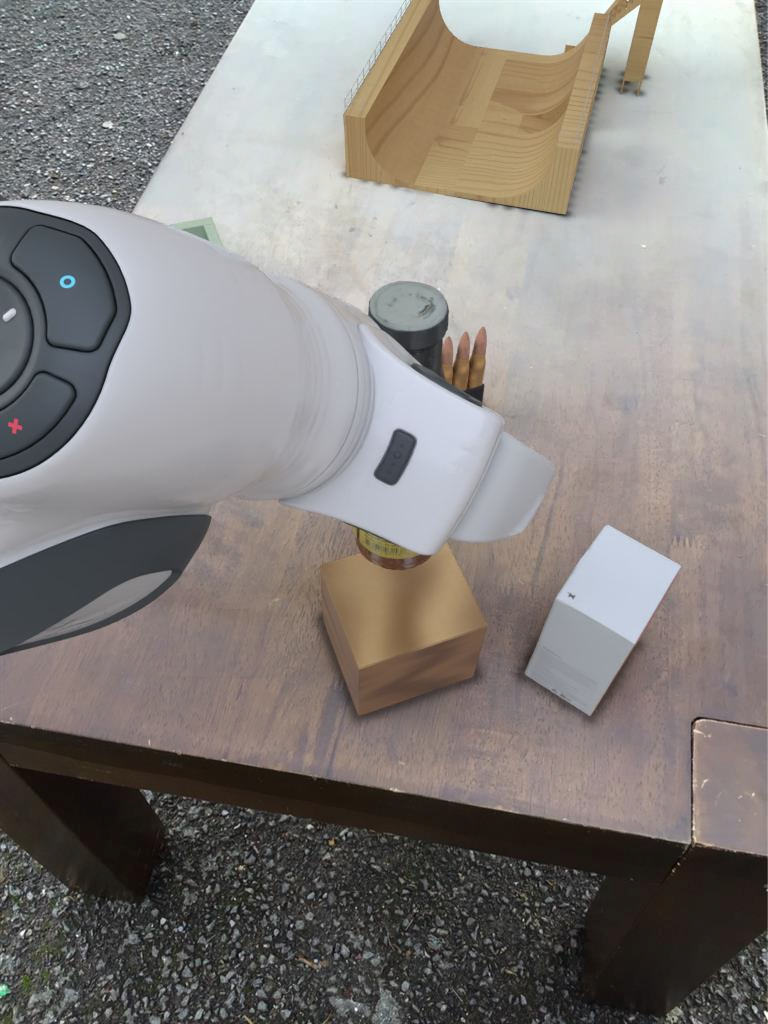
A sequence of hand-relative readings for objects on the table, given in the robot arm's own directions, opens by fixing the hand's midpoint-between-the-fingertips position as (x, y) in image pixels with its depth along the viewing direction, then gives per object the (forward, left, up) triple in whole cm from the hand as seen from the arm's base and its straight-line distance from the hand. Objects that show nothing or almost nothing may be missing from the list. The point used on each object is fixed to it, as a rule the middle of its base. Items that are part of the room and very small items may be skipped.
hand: (409, 415), depth 47 cm
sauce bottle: (-1, 0, -12) cm, 12 cm away
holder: (-7, +46, -27) cm, 54 cm away
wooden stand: (0, -2, -27) cm, 27 cm away
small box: (+14, -8, -27) cm, 32 cm away
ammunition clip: (+12, +20, -27) cm, 36 cm away
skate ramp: (+44, +70, -27) cm, 87 cm away
